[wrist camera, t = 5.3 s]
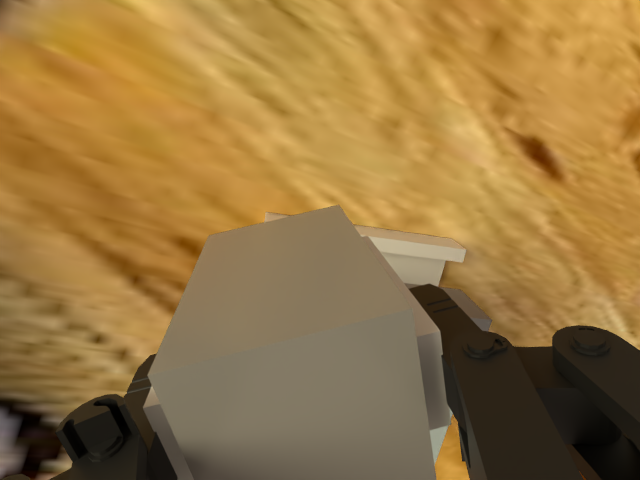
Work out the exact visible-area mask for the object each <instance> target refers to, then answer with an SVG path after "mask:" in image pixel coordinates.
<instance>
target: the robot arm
mask: <svg viewBox="0 0 640 480" xmlns="http://www.w3.org/2000/svg"><path fill="white" fill-rule="evenodd" d="M362 238H363V240H364V241H365V242H366V244H367V245H368V247H369V248H370V249H371V251H372V252H373V254H374V255H375V256H376V258H377V259H378V261H379V262H380V263H381V265H382V266H383V268H384V269H385V270H386V272H387V273H388V275H389V276H390V278H391V279H392V280H393V282H394V283H395V285H396V286H397V287H398V289H399V290H400V292H401V293H402V294H403V296H404V297H405V299H406V300H407V301H408V303H409V304H410V306H411V307H412V309H413V316H414V323H415V330H416V337H417V344H418V352H419V359H420V366H421V373H422V380H423V387H424V394H425V402H426V409H427V416H428V423H429V430H433V429H437V428H441V427H444V426H448V425H451V418H450V410H449V408H450V409H451V411H452V413H453V414H454V416H455V418H456V419H457V421H458V427H459V436H460V445H461V454H462V461H466V465H467V470H468V474H469V478H470V480H583V478H582V476H581V474H582V475H583V476H584V477H585V478H586V480H640V350H638V349H637V348H635V347H634V346H632V345H631V344H629V343H628V342H627V341H625V340H624V339H622V338H621V337H619V336H617V335H615V334H613V333H611V332H609V331H607V330H604V329H600V328H597V327H593V326H580V325H578V326H570V327H565V328H563V329H560V330H558V331H557V332H556V333H555V334H554V335H553V337H552V347H515V346H512V344H511V343H510V342H509V341H508V340H507V339H506V338H504V337H502V336H500V335H498V334H496V333H492V332H488V331H482V330H481V329H480V328H479V327H478V326H477V325H476V324H475V323H474V322H473V320H472V319H471V318H470V317H469V316H468V315H467V314H466V313H465V312H464V311H463V310H462V309H461V308H460V307H458V305H457V304H456V302H455V301H454V300H452V299H451V297H450V296H449V295H448V294H447V293H446V292H445V291H444V290H443V289H441V288H439V287H437V286H434V285H432V284H430V283H429V284H425V285H421V286H417V287H413V288H409V289H408V288H407V287H406V285H405V284H404V283H403V281H402V280H401V279H400V277H399V276H398V275H397V273H396V272H395V271H394V270H393V268H392V267H391V266H390V264H389V263H388V262H387V260H386V259H385V258H384V256H383V255H382V254H381V252H380V251H379V250H378V249H377V247H376V246H375V245H374V243H373V242H372V241H371V239H370V238H369V237H368V236H364V237H362ZM156 355H157V354H154V355H150V356H149V357H148V358H147V359H146V361H145V362H144V363H143V364H142V365H141V366H140V367H139V368H138V370H137V372H136V374H135V376H134V378H133V380H132V383H131V384H130V386H129V388H128V390H127V394H125V396H124V398H123V397H121V396H119V395H117V394H110V395H104V396H101V397H97V398H94V399H92V400H90V401H88V402H86V403H84V404H82V405H81V406H80V407H78V408H77V409H75V410H74V411H73V412H71V413H70V414H69V415H68V416H67V417H66V418H65V419H64V420H63V421H62V422H61V423H60V425H59V427H58V429H57V430H56V432H55V433H56V435H57V436H58V438H59V440H60V442H61V443H62V445H63V447H64V448H65V450H66V452H67V453H68V455H69V457H70V458H71V460H72V462H73V463H72V467H71V468H70V469H69V470H67V471H65V472H63V473H61V474H59V475H57V476H55V477H53V478H51V479H49V480H194V478H193V476H192V474H191V472H190V470H189V467H188V465H187V463H186V461H185V458H184V456H183V454H182V452H181V449H180V447H179V445H178V443H177V440H176V438H175V436H174V434H173V431H172V429H171V427H170V425H169V423H168V420H167V418H166V416H165V414H164V411H163V409H162V407H161V405H160V402H159V400H158V398H157V396H156V393H155V391H154V389H153V387H152V384H151V382H150V380H149V378H148V376H147V375H148V373H149V371H150V368H151V366H152V364H153V361H154V359H155V357H156ZM579 471H580V472H581V474H580V472H579ZM1 480H30V479H29V477H27V476H25V475H23V474H18V475H11V476H8V477H6V478H3V479H1Z"/></svg>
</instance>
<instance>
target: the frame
mask: <svg viewBox="0 0 640 480" xmlns="http://www.w3.org/2000/svg"><path fill="white" fill-rule="evenodd" d="M289 216H290V215H283V214H276V213H269V212H266V215H265V222H268V221H272V220H276V219H281V218H285V217H289ZM354 227H355V228H356V230H357V231H358V233H359V234H360V235H361V237H364V236H368V237H369V238H370V239H371V241H372V242H373V243H374V245H375V246H376V247H377V249H378V250H379V251H380V252H381V254H382V255H383V256H384V258H385V259H386V260H387V262H388V263H389V264H390V266H391V267H392V268H393V270H394V271H395V272H396V273H397V275H398V276H399V277H400V279H401V280H402V281H403V283H409V284H418V285H425V284H429V283H430V284H432V285H434V286H437V287H438V285H439V282H440V278H441V275H442V272H443V269H444V265H445V262H446V260H448V261H455V262H463V260H464V257H465V254H466V251H467V250H466V249H465V248H464V247H462V246H461V245H460V244H458V243H457V242H455V241H454V240H453V239H451V238H444V237H437V236H430V235H423V234H416V233H409V232H402V231H395V230H388V229H381V228H374V227H367V226H360V225H354Z"/></svg>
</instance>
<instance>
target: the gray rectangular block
mask: <svg viewBox="0 0 640 480" xmlns="http://www.w3.org/2000/svg"><path fill="white" fill-rule="evenodd" d="M147 376H148V378H149V380H150V382H151V384H152V387H153V389H154V391H155V393H156V396H157V398H158V400H159V402H160V405H161V407H162V409H163V411H164V414H165V416H166V418H167V420H168V423H169V425H170V427H171V429H172V431H173V434H174V436H175V438H176V440H177V443H178V445H179V447H180V449H181V452H182V454H183V456H184V458H185V461H186V463H187V465H188V467H189V470H190V472H191V474H192V476H193V478H194V480H436V473H435V466H434V459H433V451H432V444H431V437H430V430H429V423H428V416H427V409H426V402H425V394H424V387H423V380H422V373H421V366H420V359H419V352H418V344H417V337H416V330H415V323H414V316H413V309H412V307H411V306H410V304H409V303H408V301H407V300H406V299H405V297H404V296H403V294H402V293H401V292H400V290H399V289H398V287H397V286H396V285H395V283H394V282H393V280H392V279H391V278H390V276H389V275H388V273H387V272H386V270H385V269H384V268H383V266H382V265H381V263H380V262H379V261H378V259H377V258H376V256H375V255H374V254H373V252H372V251H371V249H370V248H369V247H368V245H367V244H366V242H365V241H364V240H363V238H362V237H361V235H360V234H359V233H358V231H357V230H356V228H355V227H354V225H353V224H352V223H351V221H350V220H349V218H348V217H347V216H346V214H345V213H344V211H343V210H342V209H341V207H340V206H339V205H336V206H331V207H327V208H323V209H319V210H314V211H310V212H306V213H302V214H298V215H293V216H289V217H285V218H281V219H276V220H272V221H268V222H264V223H259V224H255V225H251V226H247V227H243V228H238V229H234V230H230V231H226V232H221V233H217V234H213V235H209V236H208V238H207V241H206V243H205V245H204V247H203V250H202V252H201V254H200V257H199V259H198V261H197V263H196V266H195V268H194V270H193V273H192V275H191V277H190V279H189V282H188V284H187V286H186V289H185V291H184V293H183V295H182V298H181V300H180V302H179V304H178V307H177V309H176V311H175V314H174V316H173V318H172V320H171V323H170V325H169V327H168V330H167V332H166V334H165V336H164V339H163V341H162V343H161V346H160V348H159V350H158V352H157V355H156V357H155V359H154V361H153V364H152V366H151V368H150V371H149V373H148V375H147Z"/></svg>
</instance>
